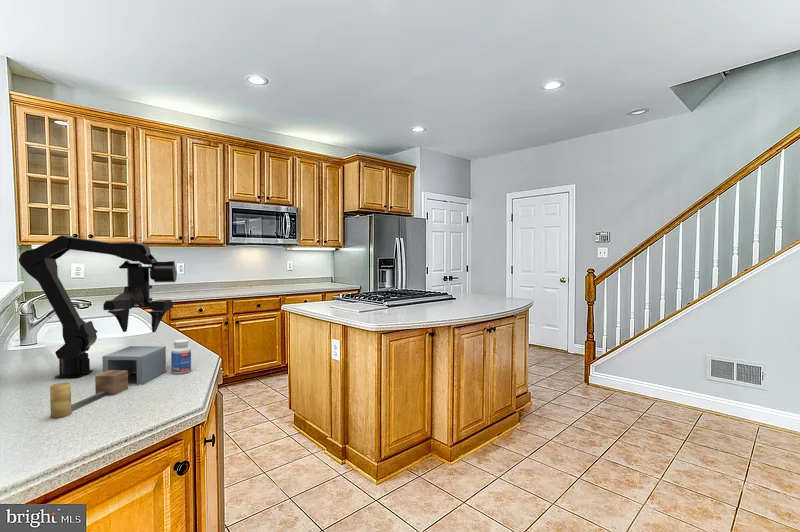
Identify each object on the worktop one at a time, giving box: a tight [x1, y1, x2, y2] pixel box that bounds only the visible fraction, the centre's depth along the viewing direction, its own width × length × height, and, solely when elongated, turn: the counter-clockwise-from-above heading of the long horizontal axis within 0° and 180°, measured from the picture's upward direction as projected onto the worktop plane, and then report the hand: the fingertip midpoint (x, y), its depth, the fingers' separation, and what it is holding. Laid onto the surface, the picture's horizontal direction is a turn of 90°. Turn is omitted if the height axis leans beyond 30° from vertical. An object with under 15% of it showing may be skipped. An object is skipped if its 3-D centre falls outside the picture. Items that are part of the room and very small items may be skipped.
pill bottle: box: [170, 338, 192, 375], centre depth 123 cm, size 6×5×10 cm
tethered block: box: [49, 370, 129, 419], centre depth 98 cm, size 5×19×7 cm, turn 177°
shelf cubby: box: [101, 345, 167, 386], centre depth 116 cm, size 11×12×8 cm
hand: (139, 332), depth 124 cm, fingers open, 9 cm apart
